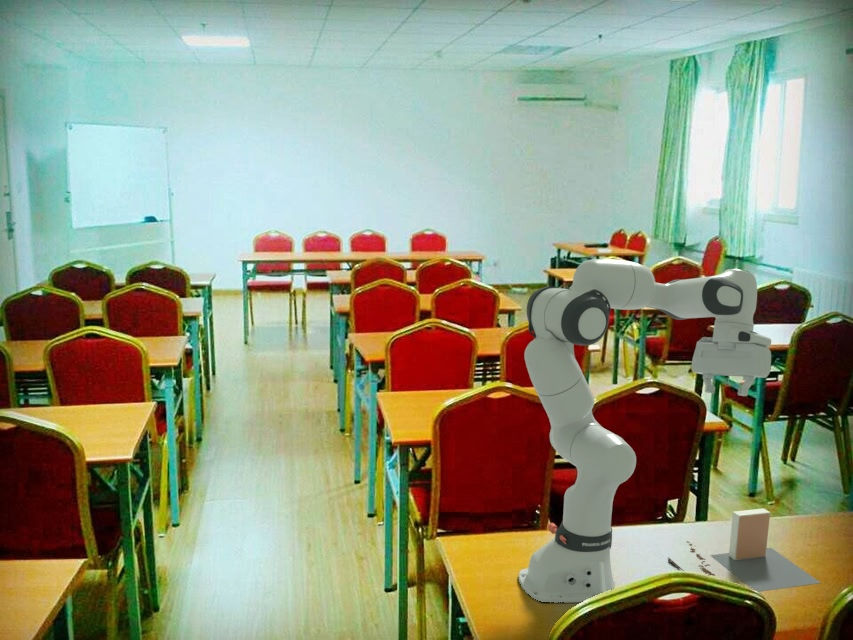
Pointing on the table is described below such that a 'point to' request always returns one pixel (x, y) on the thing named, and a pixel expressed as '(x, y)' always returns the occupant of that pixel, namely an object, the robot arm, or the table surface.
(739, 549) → the tile
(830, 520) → the table surface
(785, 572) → the mat
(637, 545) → the table surface
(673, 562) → the wooden fragment
